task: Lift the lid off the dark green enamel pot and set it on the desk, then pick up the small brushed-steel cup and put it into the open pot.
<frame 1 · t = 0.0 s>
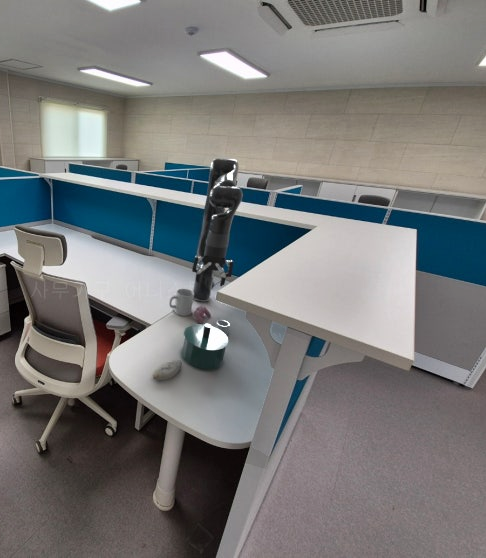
hand: (209, 283, 116), 29 cm above the table, tool pointing down, fingers open, 8 cm apart
pot: (201, 356, 121), on the table
lid: (205, 337, 118), point 9 cm above the table, touching pot
decorative stone: (167, 373, 112), on the table
video game controller: (201, 319, 148), on the table
mug: (179, 312, 153), on the table
steel cup: (220, 332, 138), on the table
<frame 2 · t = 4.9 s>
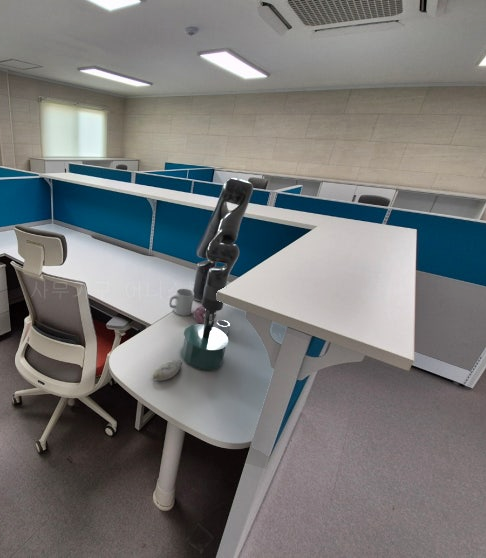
hand: (206, 334, 117), 11 cm above the table, tool pointing down, fingers closed on lid, 2 cm apart
lid: (205, 337, 118), point 10 cm above the table, touching gripper, pot
everything else where it was.
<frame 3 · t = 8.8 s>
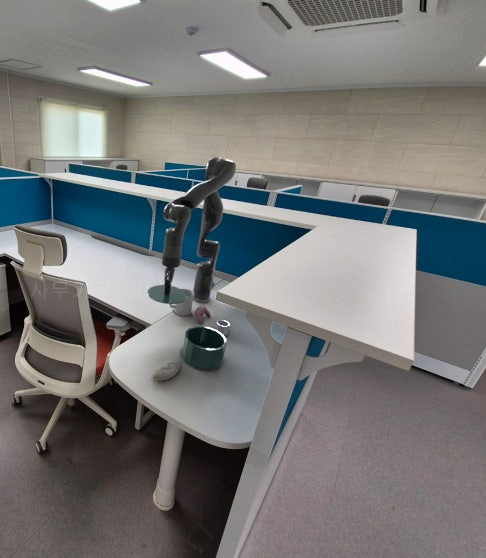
hand: (167, 291, 130), 20 cm above the table, tool pointing down, fingers closed on lid, 2 cm apart
lid: (166, 294, 130), point 18 cm above the table, touching gripper
everything else where it was.
when the fingers open (2 cm above the table, at t = 12.8 s): lid stays where it is, point 1 cm above the table.
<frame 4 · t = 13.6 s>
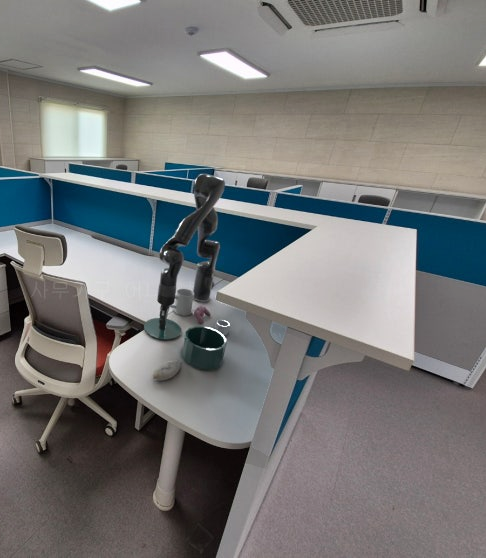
hand: (162, 323, 137), 3 cm above the table, tool pointing down, fingers open, 8 cm apart
lid: (162, 328, 138), point 1 cm above the table
everything else where it was.
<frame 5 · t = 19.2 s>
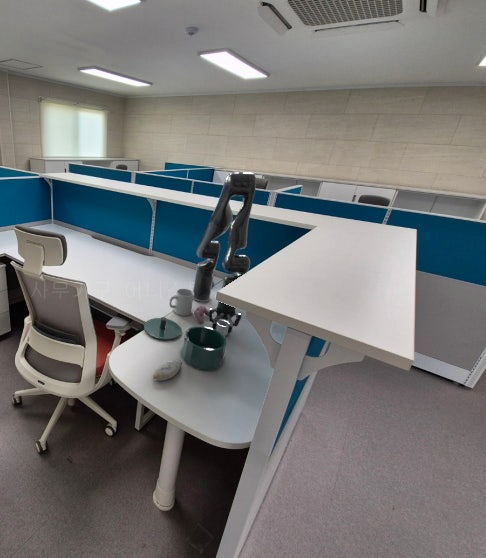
hand: (221, 330, 138), 1 cm above the table, tool pointing down, fingers closed on steel cup, 5 cm apart
steel cup: (220, 332, 138), on the table, touching gripper
everything else where it was.
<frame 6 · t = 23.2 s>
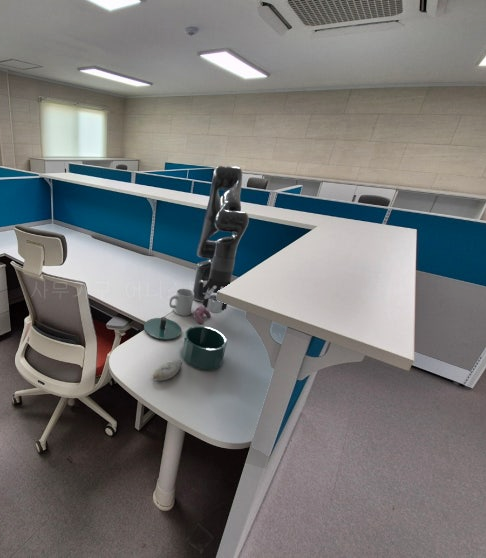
hand: (213, 307, 114), 22 cm above the table, tool pointing down, fingers closed on steel cup, 5 cm apart
steel cup: (213, 309, 115), point 21 cm above the table, touching gripper
everything else where it was.
when the fingers open (8 cm above the table, at t = 27.3 s): steel cup drops 6 cm, resting on pot.
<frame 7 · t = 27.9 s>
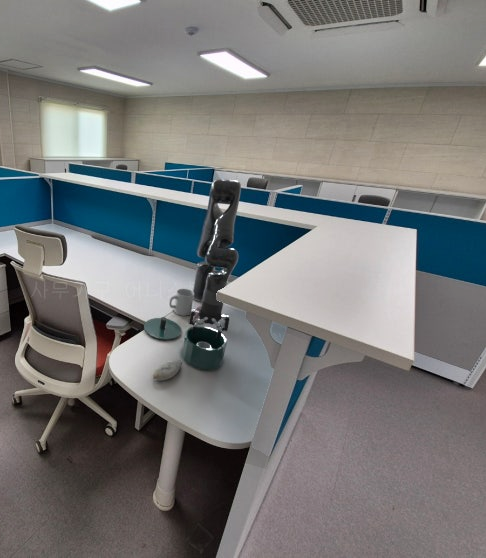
hand: (205, 335, 117), 10 cm above the table, tool pointing down, fingers open, 8 cm apart
steel cup: (201, 355, 121), resting on pot
everything else where it was.
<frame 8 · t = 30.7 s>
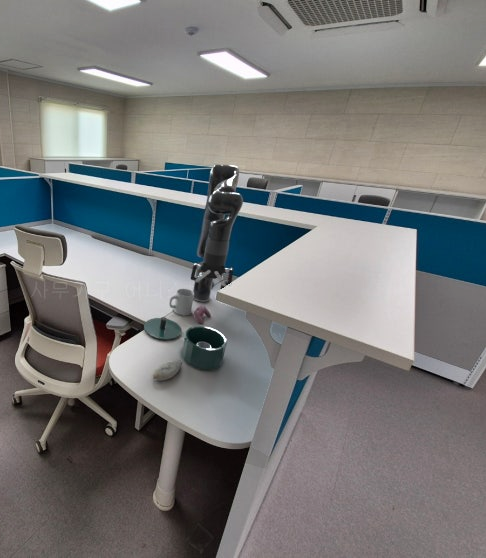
hand: (208, 292, 112), 28 cm above the table, tool pointing down, fingers open, 8 cm apart
nothing on the table moved.
at the end: steel cup inside the target area in the pot (0.1 cm from its centre), point 0.5 cm above the pot's base; lid inside the target area (0.1 cm from its centre), point 0.6 cm above the table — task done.
